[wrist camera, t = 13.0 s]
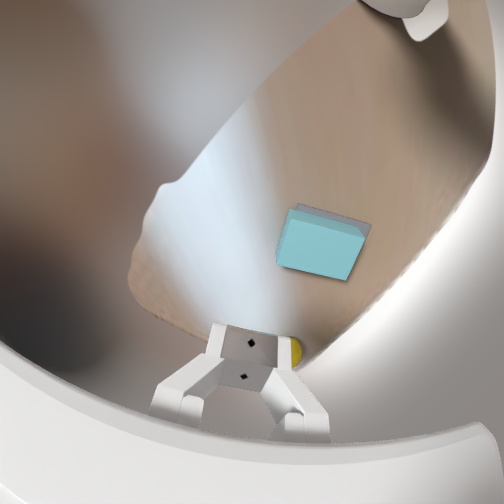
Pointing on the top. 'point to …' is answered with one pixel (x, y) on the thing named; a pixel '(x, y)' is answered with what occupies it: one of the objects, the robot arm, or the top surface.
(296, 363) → the lemon
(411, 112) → the top surface
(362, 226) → the mat
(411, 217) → the top surface
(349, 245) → the teal block
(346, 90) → the top surface
